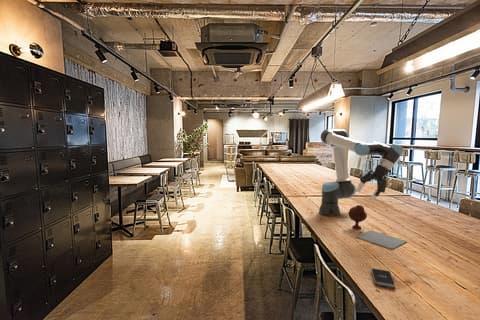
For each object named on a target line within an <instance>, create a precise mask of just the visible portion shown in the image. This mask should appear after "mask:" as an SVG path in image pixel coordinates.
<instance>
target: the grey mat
mask: <svg viewBox="0 0 480 320" xmlns="http://www.w3.org/2000/svg"><path fill="white" fill-rule="evenodd" d="M354 237H355V238H356V239H360V240H362V241H365V242H367V243H371V244H372V245H376V246H379V247H382V248H385V249H389V250H390V251H392V250H395V249H396V248H398V247H400V246H403V245H405V244H406V243H408V241H407V240H404V239H402V238H397V237H394V236H391V235H388V234H385V233H381V232H378V231H375V230H372V229H370V230H368V231H366V232H363V233H360V234H358V235H355V236H354Z"/></svg>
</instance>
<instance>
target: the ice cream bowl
mask: <svg viewBox="0 0 480 320" xmlns="http://www.w3.org/2000/svg"><path fill="white" fill-rule="evenodd" d="M347 213H348V217H349V219H350V220H351V221H354V222H355V224H354V225H353V226H351V228H352V229H354V230H357V231H358V230H362V226H360V225H359V223H361V222H363V221H365V220H366V219H367V216H368V214H367V213H366V210H365V208H364V206H362V205H359V204H358V205H356V206H352V207H350V209H349V211H348V212H347Z"/></svg>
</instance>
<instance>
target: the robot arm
mask: <svg viewBox="0 0 480 320" xmlns="http://www.w3.org/2000/svg"><path fill="white" fill-rule="evenodd" d="M320 140H321V142H322V143H323V144H326V145H330V147H331V148H332V150H333V158H334V164H335V165H334V166H335V171H336V172H335V174H336V180H335V181H328V182H327V181H326V182H324V183H323V184H322V186H321V204H320V207H319V209H318V213H319V214H320V215H322V216H326V217H338V216H340V215H341V210H340V209H341V208H340V205H339V200H341V199H349V198H352V197H353V196H354V195H355V194H356V192H358V193H360V192H361V191H362V189H363V188H364V187H365V185H366V183H368V182H370V181H372V180H375V181H376V184H377V186H376V187H377V189H376V190H375V191H374V192H373V193H372V195H371V196H370V197H369V199H370V200H371V201H374V202H375V200H376V198H377V197H379V195H380V194H381V193H385V191H386V187H387V185H388V181H389V179H390V178H389V177H388V174H389V173H390V171H391V169H393V168H394V167H393V166H394V165H395V164H396V163H397V161H398V160H399V159H400V157H401V156H402V154H403V152H404V151H405V149H404V147H402V146H401V145H399V144H398V143H392V144H391V145H387V144H385V143H382V142H380V141H379V142H378V141H372V142H371V143H370V142H369V143H368V142H363V141H359V140H356V139H352V138H350V135H349V132H348V131H347V130H345V129H343V128H342V129H341V128H327V129H323V131H321V134H320ZM346 150H348V151H351V152H353V153H355V154H356V155H357V156H362V157H364V156H376V155H377V156H380V157H382V158H381V159H380V160H379V162H378V164H377V165H376V166H375V168H374V170H372V169H370V170H369V171H368V172H367V173H366V174H365V175H363V176H362V177H360V179H359V181H360V183H359V184H358V186H357V188H356V185H355V184H354V183H353V182H352V179H350V177H349V169H348V162H347V153H346Z"/></svg>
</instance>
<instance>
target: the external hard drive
mask: <svg viewBox="0 0 480 320" xmlns="http://www.w3.org/2000/svg"><path fill="white" fill-rule="evenodd" d="M371 275H372V279H373V284H374V286H377V287H381V288H385V289H392V290H394V289H396V283H395V281H394V277H393V276H392V274H391V271H389V270H386V269H385V270H384V269H380V268H379V269H378V268H371Z"/></svg>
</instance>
